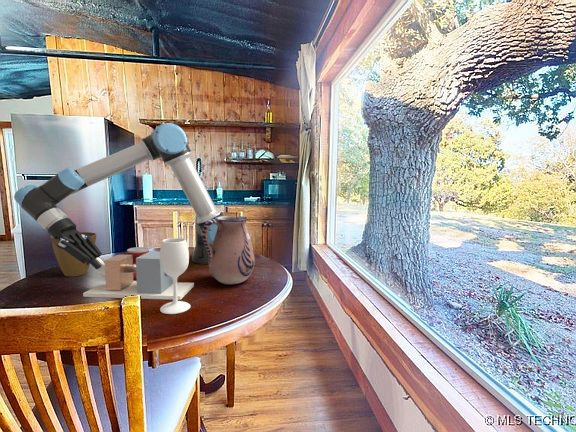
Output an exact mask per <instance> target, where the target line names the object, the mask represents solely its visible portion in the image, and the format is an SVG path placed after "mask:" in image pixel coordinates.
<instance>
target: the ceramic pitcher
mask: <svg viewBox="0 0 576 432" xmlns="http://www.w3.org/2000/svg"><path fill="white" fill-rule="evenodd" d="M213 224H216V225H217V226H218V228H217V232H216V235H215V238H214V241H213V244H212V247H211V246H210V244H209V241H208V237H207V231H208V229H209V227H210V226H211V225H213ZM202 238H203V241H204V244H205V247H206V249H207V252H208V255H209V261H208V264H207V265H208V269H209V272H210V274H211V275H212V278H214V279H215V280H216V281H217V282H219V283H221V284H223V285H238V284H241V283H243V282H245V281H246V280H247V279H248V278H249V277H250V276H251V274H252V272H253V271H254V268H255V261H256V260H255V251H254V248H253V247H254V246H253V244H252V240H251V235H250V234H249V231H248V228H247V216H242V215H241V216H239V215H238V216H234V215H224V216H221V217H216V218H215V219H212V220H209V221H207V222H206V223H205V224H204V227H203V229H202Z"/></svg>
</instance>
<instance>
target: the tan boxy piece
mask: <svg viewBox="0 0 576 432" xmlns="http://www.w3.org/2000/svg"><path fill="white" fill-rule="evenodd" d="M104 261H105V277H104V278H105V279H104V280H105V281H104V282H106V290H122V289H123V288H125V287H126V286H128V285H130V284H131V283H133V281H134V279H133V273H136V264H133V255H124V254H117V255H114V256H111V257H109V258H106V259H105V260H104Z"/></svg>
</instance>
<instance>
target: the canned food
mask: <svg viewBox="0 0 576 432" xmlns="http://www.w3.org/2000/svg"><path fill="white" fill-rule="evenodd" d="M149 249H150V248H149V247H145V246H137V247H130V248H128V249H127V250H126V252H127V255H133V264H136V258H137V257H139V256H142V255H144V254H146V253H148V252H150V250H149ZM134 279H135V280H137V277H136V273H133V280H134Z"/></svg>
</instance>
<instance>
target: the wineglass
mask: <svg viewBox="0 0 576 432" xmlns="http://www.w3.org/2000/svg"><path fill="white" fill-rule="evenodd" d="M159 251H160V266H161V269H162V270H163V272H164V273H165V274H167V275H169V276H171V277H172V279H173V300H172V301H170V302H167V303H165V304H163V305H162V306H161V307H160V308H159V311H160V312H161V313H162V314H165V315H176V314H182V313H184V312H187V311H188V310H189V309H191V303H188V302H186V301H183V300H178V299H177V282H178V278H179V276H181V275H182V274H184V273H185V272H186V271H187V269H188V266H189V262H190V261H189V260H190V252H189V246H188V243H187V240H186V238H181V237H179V238H178V237H172V238H166V239H165V238H164V239H162V240H161V245H160V249H159Z"/></svg>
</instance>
